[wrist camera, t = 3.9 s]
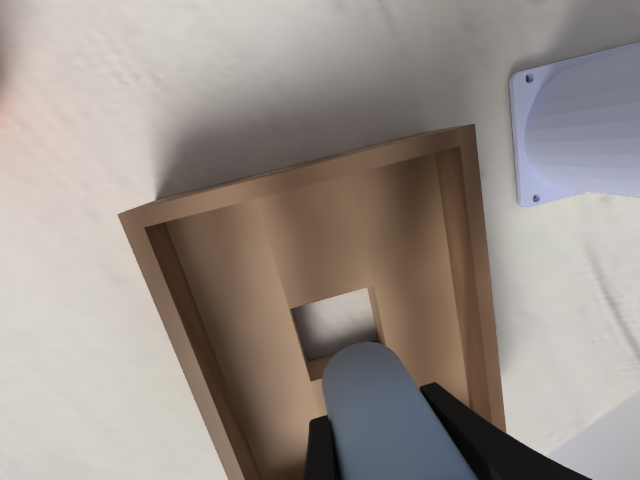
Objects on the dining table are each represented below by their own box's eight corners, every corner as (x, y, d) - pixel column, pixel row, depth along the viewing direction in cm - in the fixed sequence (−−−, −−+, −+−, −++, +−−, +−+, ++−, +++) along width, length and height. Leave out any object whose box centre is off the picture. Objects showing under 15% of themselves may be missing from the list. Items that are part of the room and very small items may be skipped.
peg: (398, 333, 13) (491, 458, 8) (407, 405, 14) (498, 568, 8) (315, 352, 13) (345, 496, 7) (328, 425, 14) (366, 608, 8)
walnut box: (429, 131, 19) (474, 123, 15) (467, 405, 24) (509, 458, 20) (155, 200, 18) (117, 214, 14) (258, 471, 23) (254, 543, 19)
